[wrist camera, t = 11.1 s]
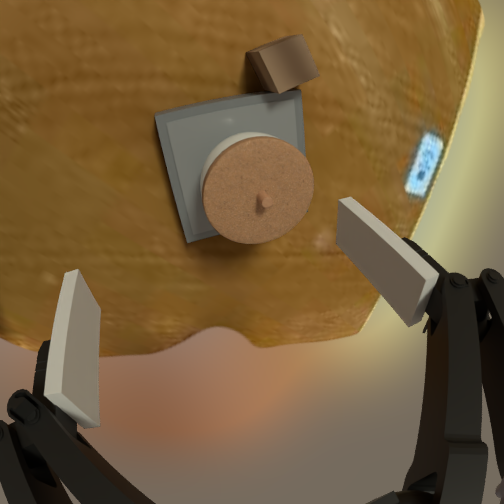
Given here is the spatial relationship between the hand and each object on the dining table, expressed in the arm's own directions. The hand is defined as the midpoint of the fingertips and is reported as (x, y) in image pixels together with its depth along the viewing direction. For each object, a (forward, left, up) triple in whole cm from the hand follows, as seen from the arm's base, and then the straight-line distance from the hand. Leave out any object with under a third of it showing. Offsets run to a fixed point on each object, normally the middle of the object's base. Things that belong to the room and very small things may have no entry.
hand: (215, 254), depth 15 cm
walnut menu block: (+12, +7, -23) cm, 27 cm away
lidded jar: (+6, -4, -21) cm, 22 cm away
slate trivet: (+6, -4, -23) cm, 24 cm away
